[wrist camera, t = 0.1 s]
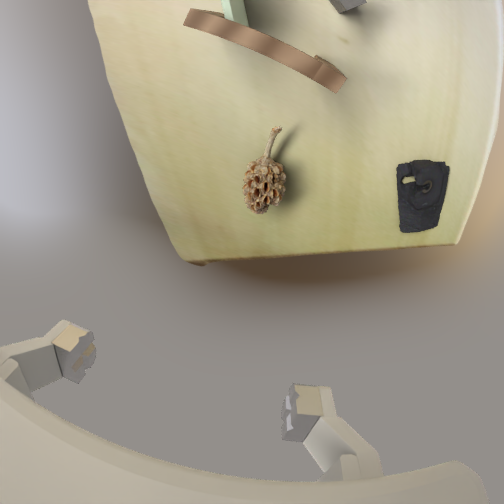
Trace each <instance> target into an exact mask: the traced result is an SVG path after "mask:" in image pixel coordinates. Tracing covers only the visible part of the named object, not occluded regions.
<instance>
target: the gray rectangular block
mask: <svg viewBox="0 0 504 504" xmlns="http://www.w3.org/2000/svg"><path fill="white" fill-rule="evenodd" d="M329 1H330V2H331V3H332V5H333V6H334V7H335V9H336V10H337V11H338V13H339V14H340V13H342V12H344V11H347V10H349V9H352V8H354V7H357V6H359V5H362V4H365V3H367V2H366V0H329Z"/></svg>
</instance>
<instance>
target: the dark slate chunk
mask: <svg viewBox="0 0 504 504" xmlns="http://www.w3.org/2000/svg"><path fill="white" fill-rule="evenodd" d="M448 175H449V166H446V165H445V162H432V161H430V160H414V161H413V162H410V163H405V164H399V165H398V167H397V191H398V204H399V205H398V209H399V216H400V225H399V227H400V231H401V232H403V233H410V232H420V231H424V230H428V229H431V228H434V227H436V226H437V225H438V221H439V218H440V213H441V210H442V205H443V202H444V197H445V192H446V187H447V182H448ZM404 176H406V177H410V176H414V177H415V180H416V182H415V181H414V182H409V183H406V184H403V183H402V182H401V181H402V179H403V177H404Z"/></svg>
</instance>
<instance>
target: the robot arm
mask: <svg viewBox="0 0 504 504" xmlns="http://www.w3.org/2000/svg"><path fill="white" fill-rule="evenodd" d="M93 340H94V335H93V333H92V332H91V331H89V330H87V329H84V328H82V327H80V326H78V325H76V324H73V323H71V322H69V321H66V320H61V321H60V322H59V323H58V324H57V325H56V326H55V327H53V328H52V329H51V330H50V331H49V332H48V333H47V334H46V335H45V336H44V337H43V338H40V337H38V338H34V339H30V340H26V341H22V342H18V343H14V344H10V345H6V346H2V347H0V504H490V503H489V499H488V496H487V493H486V490H485V487H484V484H483V482H482V480H481V478H480V477H479V475H478V474H476V473H475V472H474V471H473V470H471V469H470V468H468V467H467V466H466V465H464V464H463V463H461V462H459V461H456V460H455V461H448V462H445V463H442V464H438V465H434V466H431V467H427V468H423V469H419V470H414V471H410V472H405V473H400V474H394V475H388V476H384V473H383V470H382V466H381V462H380V459H379V455H378V452H377V451H376V450H375V449H374V448H373V447H372V446H371V445H370V444H369V443H367V442H366V441H365V440H364V439H363V438H362V437H361V436H360V435H359V434H358V433H357V432H356V431H355V430H353V428H351V427H350V426H349V425H348V424H347V423H346V422H345V421H344V420H343V419H342V418H341V417H337V413H336V409H335V404H334V400H333V396H332V392H331V388H330V387H325V386H324V387H323V386H313V385H303V384H294V383H293V384H292V385H291V386H290V389H289V395H288V396H287V397H285V400H284V402H283V406H282V412H281V416H282V417H281V418H282V420H283V421H284V424H283V425H282V440H286V441H296V442H303V444H304V446H305V447H306V448H307V450H308V451H309V453H310V454H311V455H312V457H313V458H314V460H315V461H316V462H317V464H318V465H319V467H320V468H321V469H322V471H323V472H324V474H323V475H322V476H321V477H320V478H319V479H318V480H317V481H316V482H292V481H273V480H261V479H252V478H244V477H236V476H230V475H223V474H218V473H213V472H207V471H202V470H198V469H194V468H190V467H185V466H181V465H178V464H174V463H170V462H166V461H163V460H160V459H157V458H154V457H150V456H147V455H144V454H141V453H139V452H136V451H133V450H130V449H128V448H125V447H122V446H120V445H117V444H115V443H112V442H110V441H108V440H105V439H103V438H101V437H99V436H96V435H94V434H92V433H90V432H88V431H86V430H83V429H82V428H80V427H77V426H76V425H74V424H72V423H70V422H68V421H66V420H64V419H63V418H61V417H59V416H57V415H55V414H54V413H52V412H50V411H49V410H47V409H45V408H44V407H42V406H41V405H39V404H37V403H36V402H35V400H34V398H33V396H32V394H31V392H33V391H35V390H37V389H40V388H41V387H44V386H46V385H48V384H50V383H52V382H54V381H56V380H58V379H60V378H62V377H65V378H67V379H69V380H71V381H73V382H75V383H78V384H79V382H80V381H81V380H82V378H83V377H84V376H85V369H88V368H91V366H92V365H93V363H94V361H95V358H96V348H95V346H94V345H93V343H92V341H93Z"/></svg>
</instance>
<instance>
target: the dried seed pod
mask: <svg viewBox="0 0 504 504" xmlns="http://www.w3.org/2000/svg"><path fill="white" fill-rule="evenodd" d="M280 126H281V125H280ZM280 126H279V127H274V128H273V129H272V131H271V134H270V137H269V139H268V142H267V144H266V148H265V152H264V154H263V156H262V157H260V159H257V160H256V161H252V162H250V163H249V164H247V168H248V171H247V172H246V173H245V178H244V179H243V180H244V182H245V183H246V184H245V185H244V186H243V189H244V191H243V194H244V195H245V196H246V197H245V198H244V201H245V203H246V204H247V208H249V209H251V211H252V212H253V213H256V214H263V213H264V212H267V210H268V206H269V204H271V205H272V204H273V205H274V206H278V205H279V202H280V201H282V197H283V196H284V192H285V186H284V185H283V184H284V183H285V182H286V180H285V178H286V176H285V175H286V174H285V173H284V172H283V171H282V170H283V168H284V167H283V166H282V165H281V164H280V163H276V162H274V161H273V160H272V159H271V158H270V153H271V148H272V146H273V143H274V140H275V137H276V135H277V134H278V133H280V132H281V130H282V128H281V127H280Z"/></svg>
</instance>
